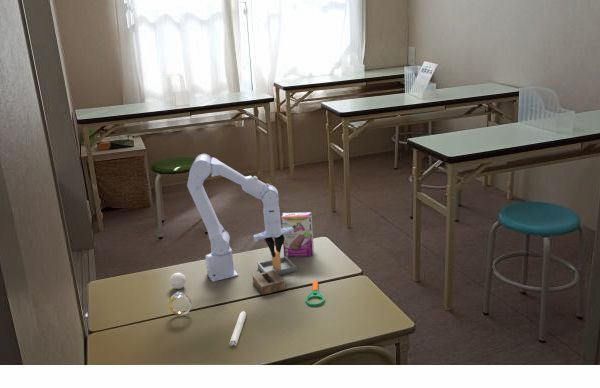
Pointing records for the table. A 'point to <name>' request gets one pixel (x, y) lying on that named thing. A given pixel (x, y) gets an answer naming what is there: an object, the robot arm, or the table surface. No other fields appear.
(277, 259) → the tan wooden plank
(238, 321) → the marker
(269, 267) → the tray
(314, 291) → the magnifying glass
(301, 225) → the candy bar box
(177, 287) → the white egg
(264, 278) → the brown slotted block
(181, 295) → the ring
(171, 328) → the table surface
